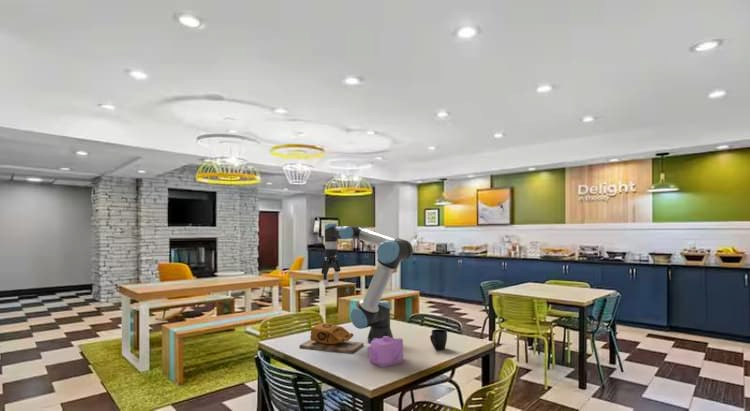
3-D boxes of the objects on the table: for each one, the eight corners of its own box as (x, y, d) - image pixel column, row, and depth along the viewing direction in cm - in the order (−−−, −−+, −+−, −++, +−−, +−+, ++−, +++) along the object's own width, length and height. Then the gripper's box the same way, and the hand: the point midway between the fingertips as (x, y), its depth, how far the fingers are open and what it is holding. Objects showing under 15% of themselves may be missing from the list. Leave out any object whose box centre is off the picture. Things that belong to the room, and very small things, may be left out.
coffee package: (310, 324, 229) (343, 332, 219) (322, 320, 240) (354, 327, 230) (308, 342, 229) (341, 350, 219) (321, 337, 240) (353, 345, 230)
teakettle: (403, 356, 208) (403, 332, 208) (403, 368, 191) (402, 341, 191) (370, 356, 209) (370, 332, 210) (367, 367, 192) (366, 341, 193)
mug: (424, 350, 218) (424, 332, 218) (437, 345, 226) (437, 328, 227) (437, 353, 212) (436, 335, 213) (450, 348, 221) (449, 330, 221)
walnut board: (363, 345, 229) (363, 342, 229) (351, 353, 214) (351, 350, 214) (314, 340, 240) (314, 337, 240) (299, 347, 226) (299, 345, 226)
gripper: (334, 247, 260) (335, 281, 259) (315, 249, 237) (315, 286, 236) (345, 247, 257) (345, 281, 256) (326, 249, 234) (326, 286, 233)
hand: (331, 283), depth 246 cm, fingers open, 13 cm apart
